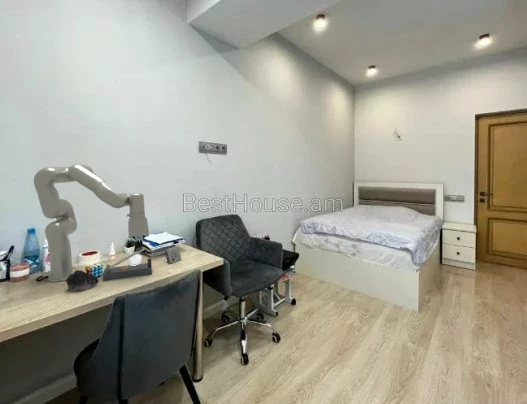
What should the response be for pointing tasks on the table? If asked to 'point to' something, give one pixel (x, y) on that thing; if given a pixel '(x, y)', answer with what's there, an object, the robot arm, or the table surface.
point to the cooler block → (127, 271)
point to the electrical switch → (173, 255)
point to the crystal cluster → (81, 281)
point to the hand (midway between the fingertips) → (139, 247)
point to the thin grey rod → (127, 257)
